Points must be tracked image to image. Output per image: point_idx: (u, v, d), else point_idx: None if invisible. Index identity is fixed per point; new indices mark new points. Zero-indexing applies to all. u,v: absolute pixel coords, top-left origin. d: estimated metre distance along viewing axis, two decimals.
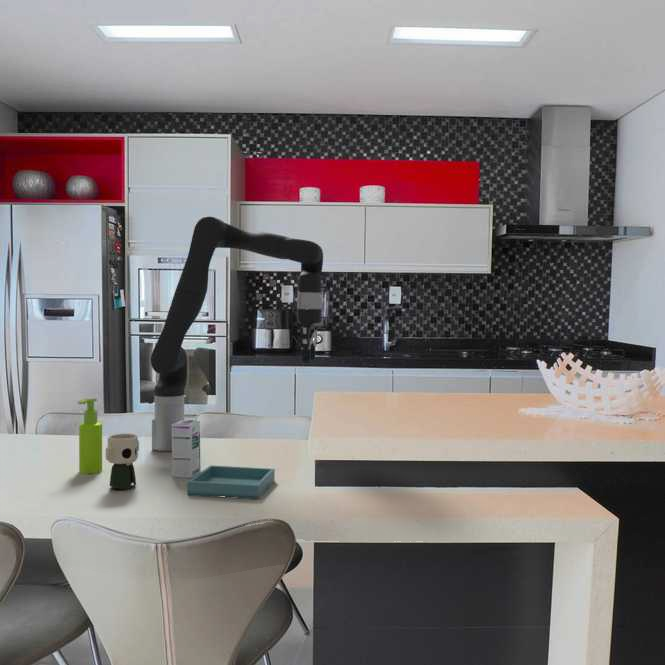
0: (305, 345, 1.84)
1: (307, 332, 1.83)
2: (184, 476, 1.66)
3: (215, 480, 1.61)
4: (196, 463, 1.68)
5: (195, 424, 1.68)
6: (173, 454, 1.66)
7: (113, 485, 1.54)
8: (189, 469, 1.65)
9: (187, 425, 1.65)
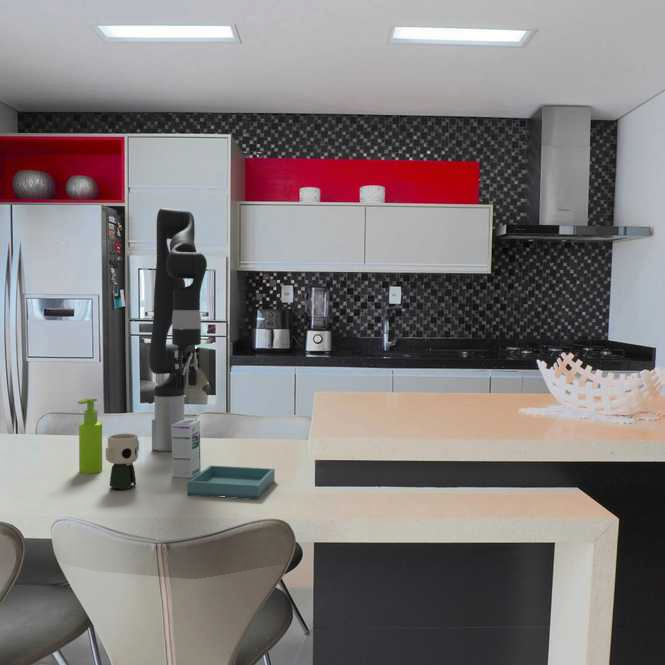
0: (177, 371, 1.61)
1: (179, 356, 1.60)
2: (184, 476, 1.66)
3: (215, 480, 1.61)
4: (196, 463, 1.68)
5: (195, 424, 1.68)
6: (173, 454, 1.66)
7: (113, 485, 1.54)
8: (189, 469, 1.65)
9: (187, 425, 1.65)
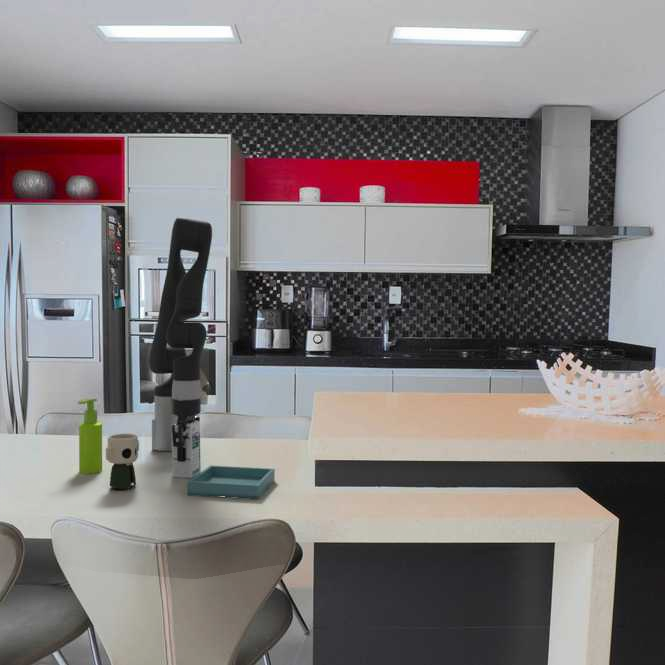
0: (178, 445, 1.62)
1: (179, 431, 1.61)
2: (184, 476, 1.66)
3: (215, 480, 1.61)
4: (196, 463, 1.68)
5: (195, 424, 1.68)
6: (173, 454, 1.66)
7: (113, 485, 1.54)
8: (189, 469, 1.65)
9: (187, 425, 1.65)
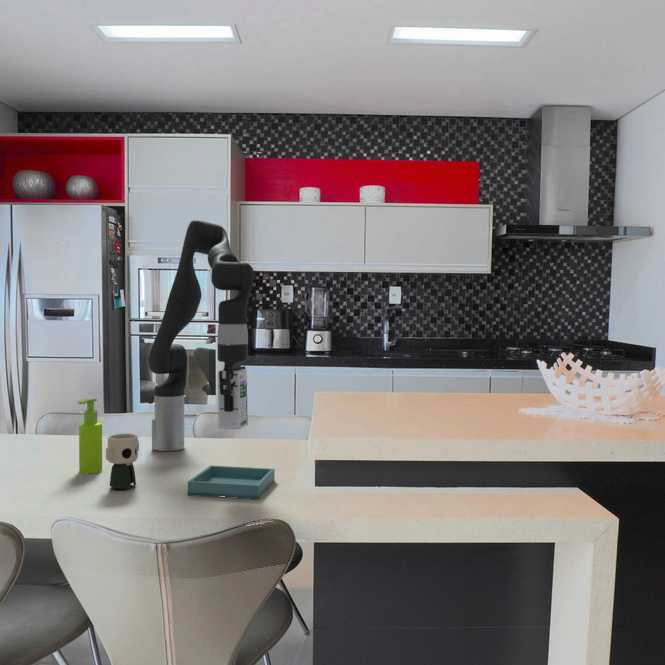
0: (226, 392, 1.50)
1: (227, 377, 1.50)
2: (231, 427, 1.54)
3: (215, 480, 1.61)
4: (244, 414, 1.56)
5: (242, 372, 1.56)
6: (219, 404, 1.54)
7: (113, 485, 1.54)
8: (237, 419, 1.53)
9: (234, 372, 1.53)
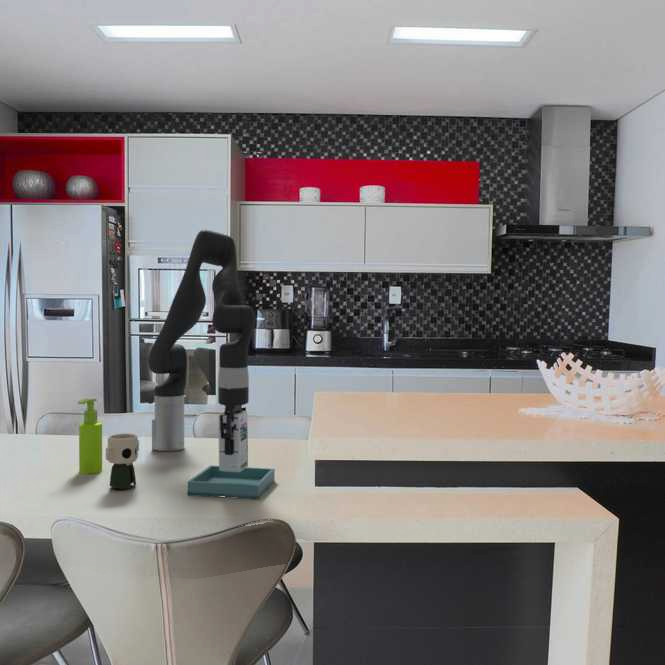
0: (226, 436, 1.51)
1: (228, 421, 1.50)
2: (232, 470, 1.54)
3: (215, 480, 1.61)
4: (244, 456, 1.57)
5: (243, 414, 1.56)
6: (220, 446, 1.55)
7: (113, 485, 1.54)
8: (237, 462, 1.54)
9: (235, 415, 1.54)
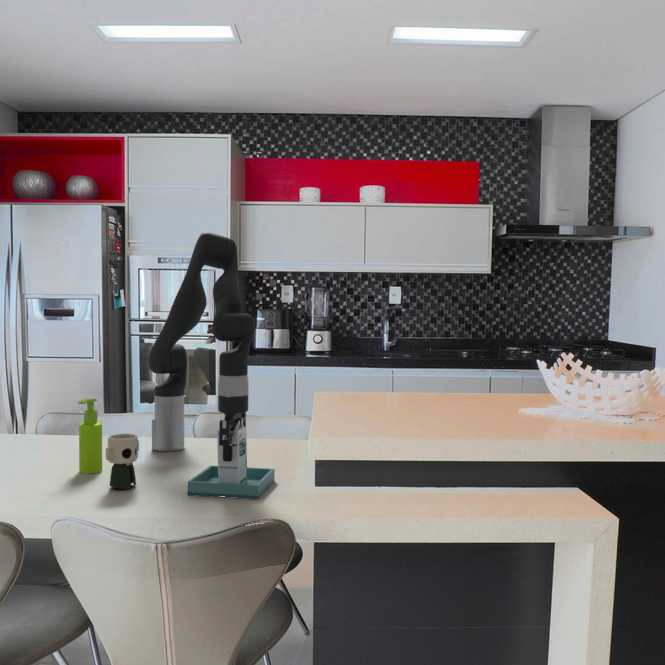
0: (225, 442, 1.50)
1: (227, 427, 1.50)
2: None
3: (215, 480, 1.61)
4: (243, 471, 1.57)
5: (242, 430, 1.56)
6: (219, 462, 1.55)
7: (113, 485, 1.54)
8: (237, 478, 1.54)
9: None
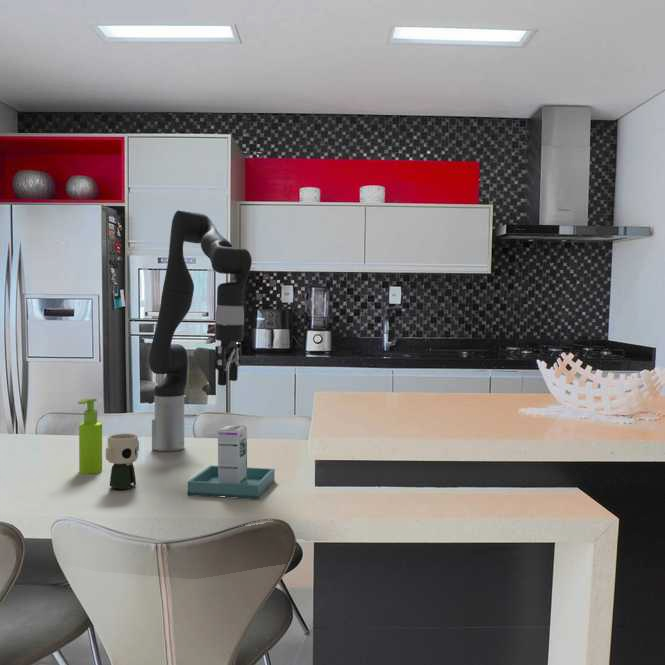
0: (220, 366, 1.60)
1: (222, 352, 1.60)
2: None
3: (215, 480, 1.61)
4: (244, 472, 1.57)
5: (242, 430, 1.56)
6: (219, 462, 1.55)
7: (113, 485, 1.54)
8: (237, 478, 1.54)
9: (234, 431, 1.54)
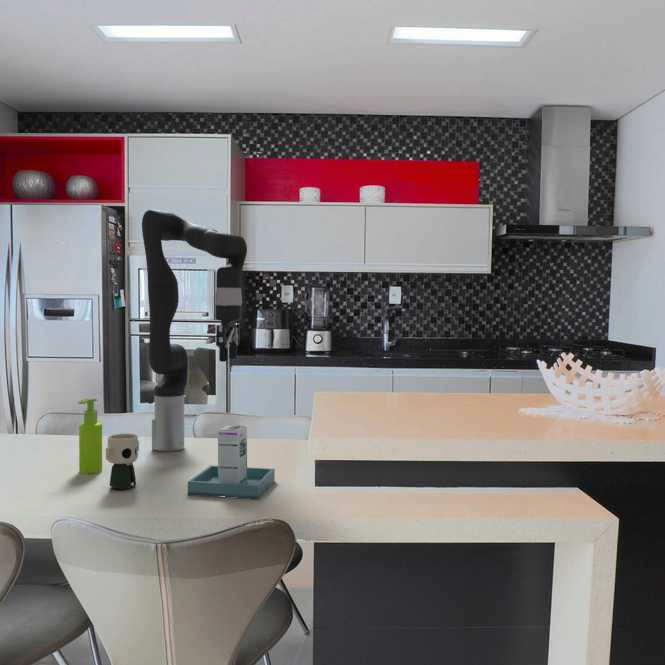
0: (221, 343, 1.73)
1: (223, 330, 1.73)
2: None
3: (215, 480, 1.61)
4: (244, 472, 1.57)
5: (242, 430, 1.56)
6: (219, 462, 1.55)
7: (113, 485, 1.54)
8: (237, 478, 1.54)
9: (234, 431, 1.54)
